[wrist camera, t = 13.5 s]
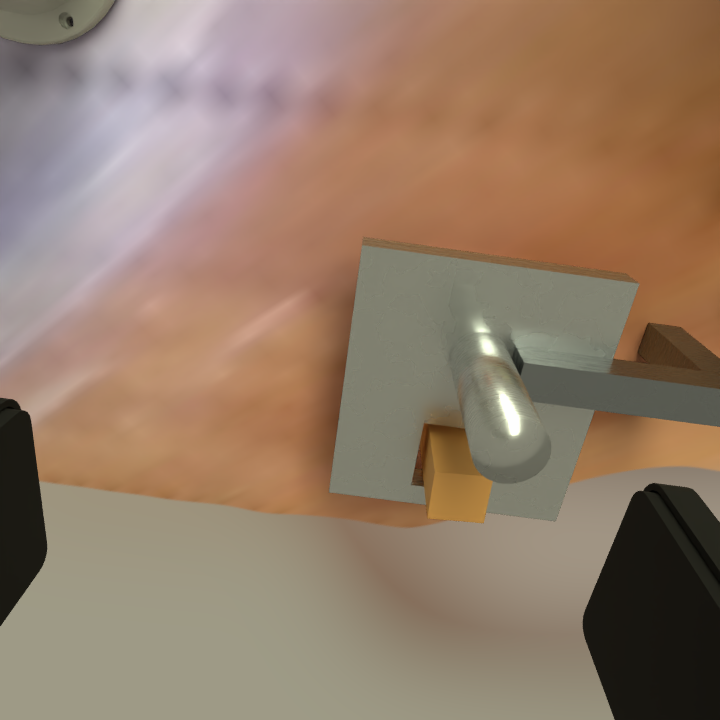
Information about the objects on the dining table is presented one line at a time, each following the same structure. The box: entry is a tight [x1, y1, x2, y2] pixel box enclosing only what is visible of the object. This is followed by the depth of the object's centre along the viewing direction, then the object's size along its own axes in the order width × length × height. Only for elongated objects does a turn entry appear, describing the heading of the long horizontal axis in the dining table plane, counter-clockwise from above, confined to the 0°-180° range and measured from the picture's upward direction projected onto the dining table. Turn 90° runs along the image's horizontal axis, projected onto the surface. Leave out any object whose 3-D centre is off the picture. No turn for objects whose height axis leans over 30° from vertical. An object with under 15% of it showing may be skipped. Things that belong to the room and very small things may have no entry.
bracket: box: [512, 323, 720, 427], centre depth 38 cm, size 14×2×10 cm, turn 82°
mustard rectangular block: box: [420, 423, 493, 523], centre depth 41 cm, size 4×4×12 cm
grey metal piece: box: [329, 237, 639, 521], centre depth 36 cm, size 16×18×18 cm
